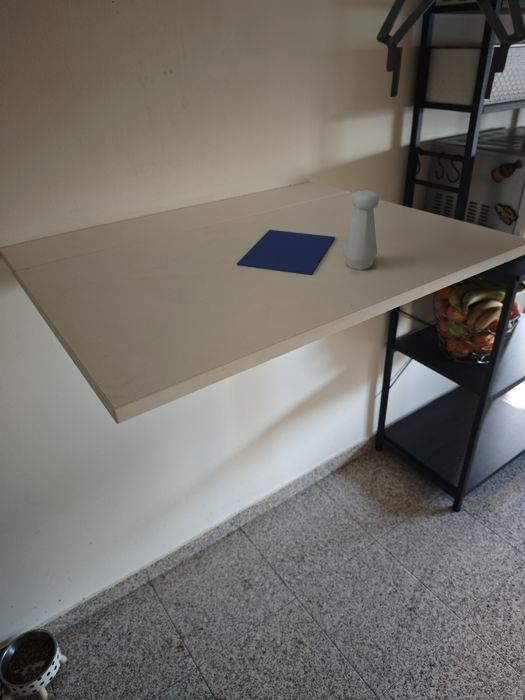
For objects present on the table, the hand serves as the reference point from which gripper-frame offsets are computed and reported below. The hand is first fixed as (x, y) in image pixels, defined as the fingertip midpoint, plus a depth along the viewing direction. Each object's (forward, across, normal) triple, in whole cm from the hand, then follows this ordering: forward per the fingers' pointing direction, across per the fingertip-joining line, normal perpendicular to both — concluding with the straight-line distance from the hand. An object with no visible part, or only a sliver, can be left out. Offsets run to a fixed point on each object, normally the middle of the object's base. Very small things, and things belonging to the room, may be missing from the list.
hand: (439, 97), depth 76 cm
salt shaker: (+27, -9, -5) cm, 29 cm away
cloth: (+27, -23, -3) cm, 35 cm away
